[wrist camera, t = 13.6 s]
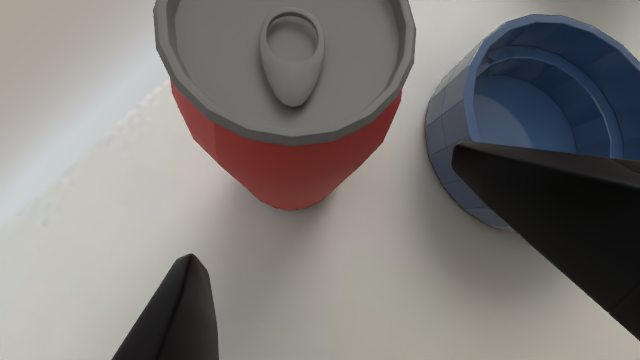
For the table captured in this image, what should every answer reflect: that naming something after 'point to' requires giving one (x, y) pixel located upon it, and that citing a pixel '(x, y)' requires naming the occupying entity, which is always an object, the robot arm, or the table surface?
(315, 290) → the table surface
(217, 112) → the beer can
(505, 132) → the bowl
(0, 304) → the table surface
